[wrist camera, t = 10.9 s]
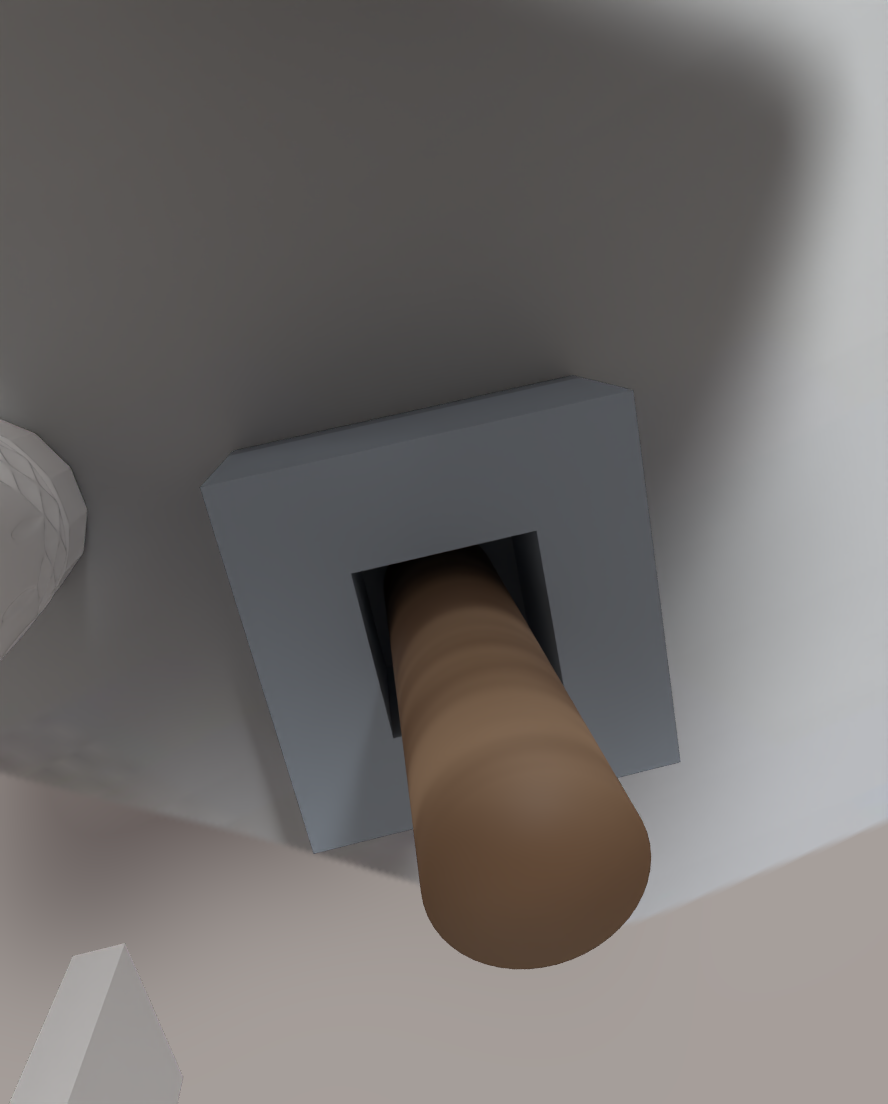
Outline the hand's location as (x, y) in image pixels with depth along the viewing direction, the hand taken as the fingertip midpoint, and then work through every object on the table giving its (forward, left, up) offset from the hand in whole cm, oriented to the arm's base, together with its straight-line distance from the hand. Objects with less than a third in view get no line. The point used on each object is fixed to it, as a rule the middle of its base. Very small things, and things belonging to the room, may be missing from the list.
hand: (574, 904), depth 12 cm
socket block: (0, 0, -17) cm, 17 cm away
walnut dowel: (0, 0, -16) cm, 16 cm away
